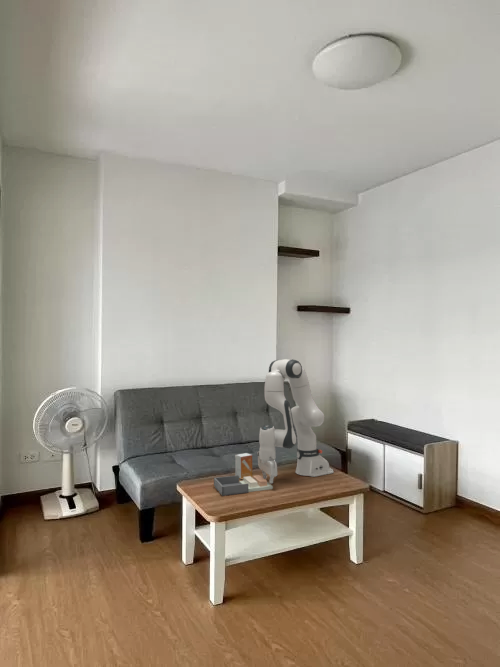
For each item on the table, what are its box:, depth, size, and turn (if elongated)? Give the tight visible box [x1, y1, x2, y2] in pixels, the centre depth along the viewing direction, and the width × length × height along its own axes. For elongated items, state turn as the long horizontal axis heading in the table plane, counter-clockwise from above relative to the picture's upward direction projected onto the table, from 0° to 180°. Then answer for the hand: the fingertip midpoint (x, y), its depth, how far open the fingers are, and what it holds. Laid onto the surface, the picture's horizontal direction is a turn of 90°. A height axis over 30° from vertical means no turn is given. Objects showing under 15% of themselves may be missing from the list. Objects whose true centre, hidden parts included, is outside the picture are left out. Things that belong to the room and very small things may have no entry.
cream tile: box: [242, 476, 258, 488], centre depth 253 cm, size 4×12×2 cm, turn 18°
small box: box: [234, 452, 253, 478], centre depth 272 cm, size 8×6×13 cm
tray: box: [213, 474, 249, 497], centre depth 249 cm, size 14×18×5 cm
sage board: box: [239, 480, 274, 493], centre depth 254 cm, size 14×15×2 cm
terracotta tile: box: [252, 474, 268, 487], centre depth 254 cm, size 4×12×2 cm, turn 19°
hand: (267, 480), depth 256 cm, fingers open, 8 cm apart
